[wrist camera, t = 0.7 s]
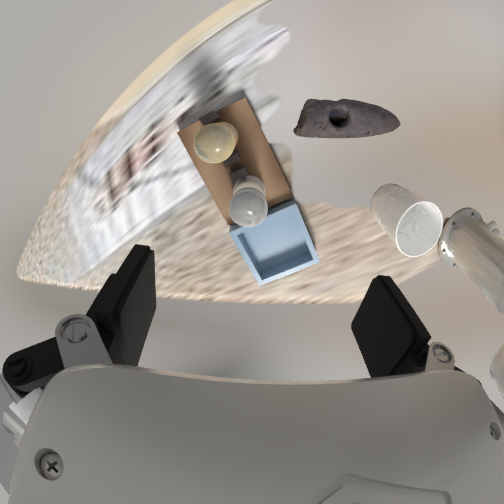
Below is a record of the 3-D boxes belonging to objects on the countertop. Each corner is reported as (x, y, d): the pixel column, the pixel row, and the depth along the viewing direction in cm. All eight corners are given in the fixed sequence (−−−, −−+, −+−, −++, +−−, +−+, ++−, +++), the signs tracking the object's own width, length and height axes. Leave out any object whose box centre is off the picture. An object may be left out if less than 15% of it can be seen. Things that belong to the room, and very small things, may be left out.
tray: (293, 196, 38) (296, 203, 35) (316, 252, 42) (320, 261, 40) (230, 224, 40) (229, 232, 38) (258, 275, 45) (259, 285, 42)
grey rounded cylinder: (256, 169, 35) (257, 184, 28) (269, 196, 37) (273, 218, 30) (228, 182, 36) (221, 200, 29) (242, 208, 37) (239, 232, 30)
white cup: (403, 173, 36) (440, 192, 27) (412, 216, 39) (444, 244, 30) (361, 189, 37) (390, 213, 29) (373, 233, 41) (399, 265, 32)
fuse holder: (245, 98, 31) (244, 95, 27) (291, 193, 38) (296, 203, 34) (179, 131, 33) (170, 134, 30) (229, 221, 40) (226, 234, 36)
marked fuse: (229, 116, 31) (223, 116, 24) (244, 144, 33) (241, 152, 26) (200, 130, 32) (186, 135, 25) (215, 158, 34) (205, 170, 27)
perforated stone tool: (388, 105, 31) (413, 106, 25) (388, 139, 33) (412, 146, 27) (287, 98, 31) (295, 95, 25) (289, 135, 34) (297, 140, 28)
